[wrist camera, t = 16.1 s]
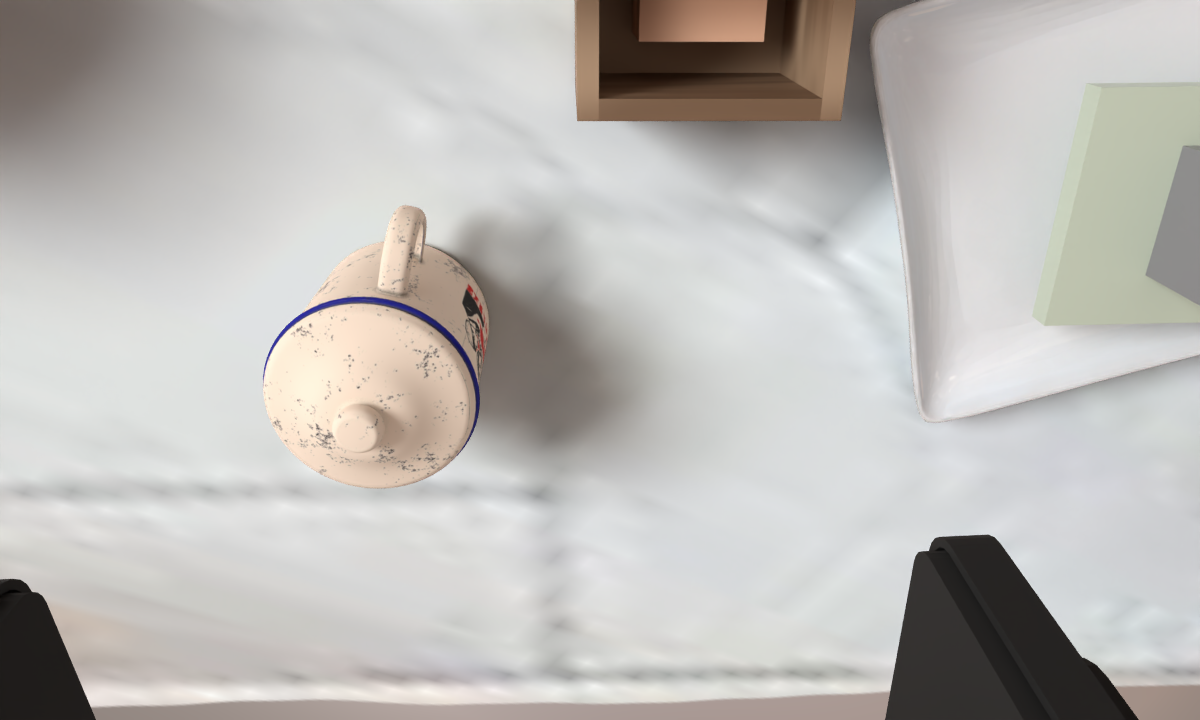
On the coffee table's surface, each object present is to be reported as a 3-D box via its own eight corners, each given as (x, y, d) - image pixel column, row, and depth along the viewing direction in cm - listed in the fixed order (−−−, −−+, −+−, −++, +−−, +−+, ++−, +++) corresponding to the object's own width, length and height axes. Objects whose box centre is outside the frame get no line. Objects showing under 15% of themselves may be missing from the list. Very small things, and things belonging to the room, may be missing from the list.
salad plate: (1291, 298, 46) (1343, 324, 43) (900, 402, 48) (923, 434, 45) (1326, -139, 36) (1396, -146, 33) (840, 13, 38) (864, 19, 35)
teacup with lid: (478, 409, 46) (452, 545, 36) (308, 377, 45) (231, 508, 35) (520, 199, 41) (505, 285, 31) (331, 157, 40) (247, 232, 30)
